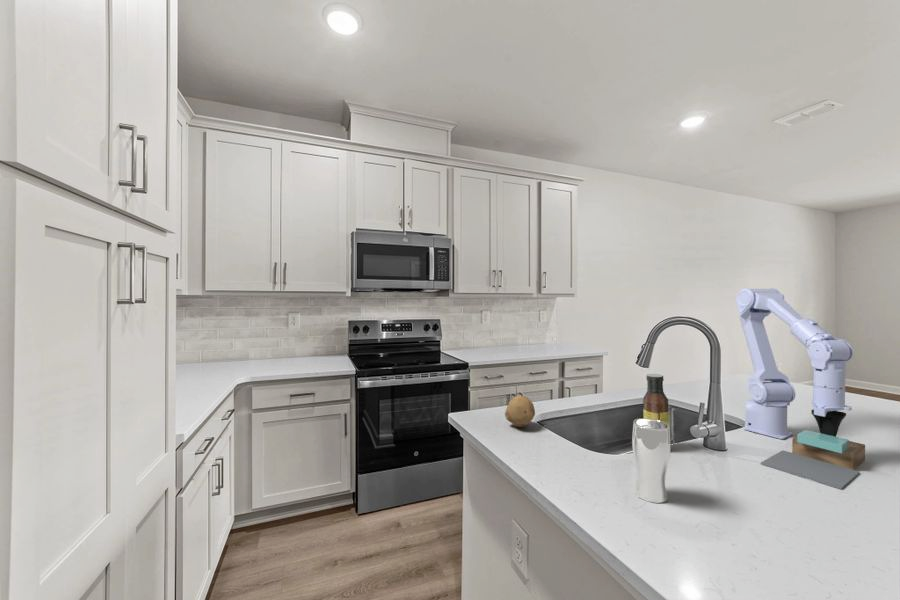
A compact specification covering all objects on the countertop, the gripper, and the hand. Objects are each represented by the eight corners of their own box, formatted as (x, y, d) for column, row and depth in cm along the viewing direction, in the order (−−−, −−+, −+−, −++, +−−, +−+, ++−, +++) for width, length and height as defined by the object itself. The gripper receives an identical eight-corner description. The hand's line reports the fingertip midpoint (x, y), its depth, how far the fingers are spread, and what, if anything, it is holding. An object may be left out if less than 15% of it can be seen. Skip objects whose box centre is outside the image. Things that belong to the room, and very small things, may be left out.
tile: (797, 442, 95) (797, 434, 95) (805, 437, 98) (805, 429, 98) (841, 453, 88) (841, 445, 88) (849, 447, 91) (849, 439, 91)
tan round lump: (540, 431, 113) (540, 399, 113) (513, 434, 111) (513, 401, 111) (527, 421, 122) (527, 391, 122) (502, 424, 120) (502, 393, 120)
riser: (792, 453, 97) (792, 438, 97) (806, 445, 103) (806, 430, 103) (852, 470, 88) (853, 453, 88) (865, 460, 93) (865, 444, 93)
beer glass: (669, 508, 73) (670, 432, 72) (630, 498, 76) (630, 425, 76) (670, 492, 78) (670, 421, 78) (633, 483, 82) (634, 415, 82)
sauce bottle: (667, 444, 103) (667, 373, 103) (672, 453, 97) (673, 378, 97) (641, 441, 105) (641, 371, 105) (644, 450, 100) (645, 376, 99)
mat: (760, 464, 91) (760, 462, 91) (782, 451, 99) (782, 450, 99) (841, 489, 79) (841, 487, 79) (859, 473, 87) (859, 471, 87)
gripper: (842, 393, 88) (841, 450, 88) (859, 386, 96) (858, 438, 96) (802, 387, 94) (802, 441, 94) (821, 380, 102) (821, 430, 102)
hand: (828, 439), depth 95 cm, fingers closed
